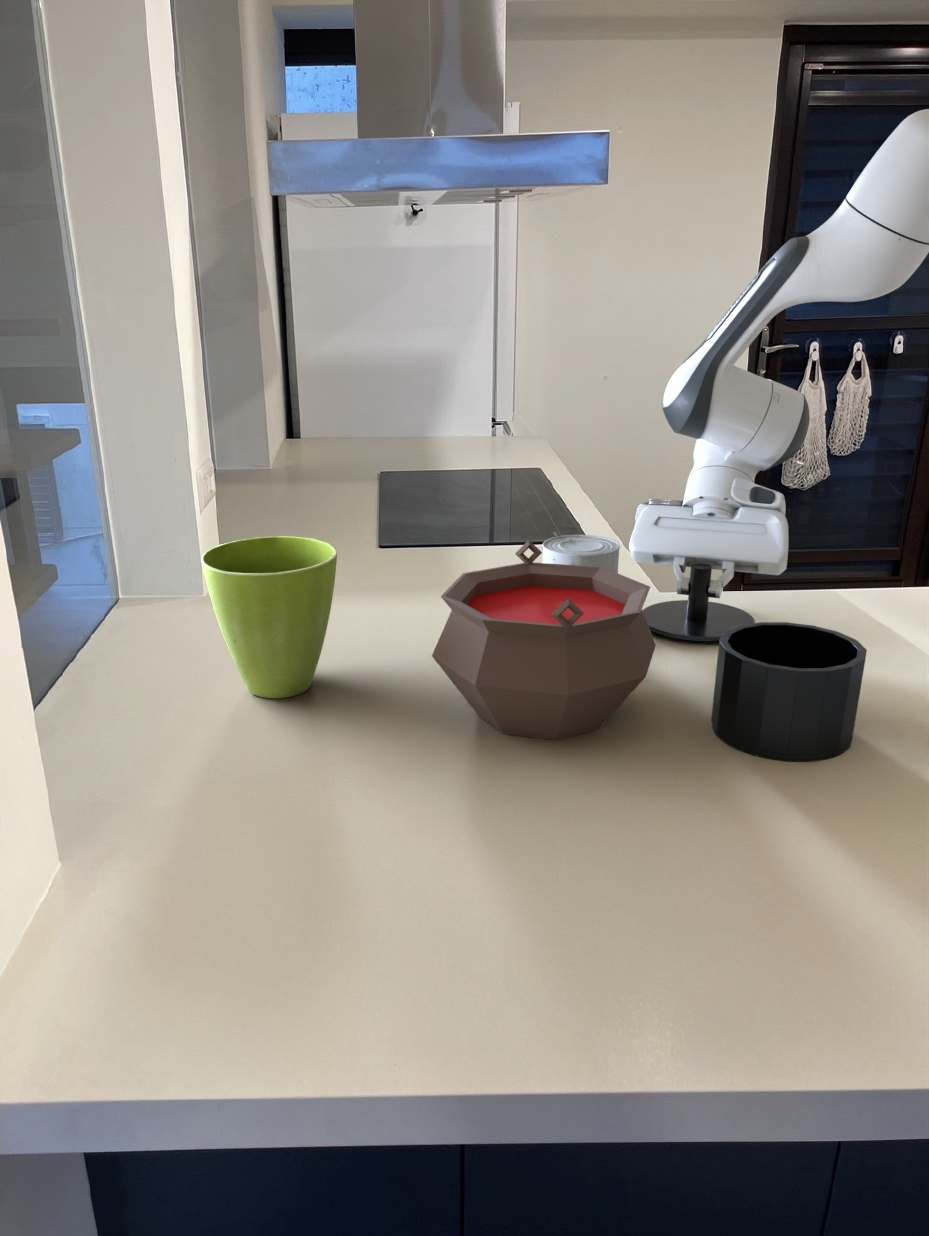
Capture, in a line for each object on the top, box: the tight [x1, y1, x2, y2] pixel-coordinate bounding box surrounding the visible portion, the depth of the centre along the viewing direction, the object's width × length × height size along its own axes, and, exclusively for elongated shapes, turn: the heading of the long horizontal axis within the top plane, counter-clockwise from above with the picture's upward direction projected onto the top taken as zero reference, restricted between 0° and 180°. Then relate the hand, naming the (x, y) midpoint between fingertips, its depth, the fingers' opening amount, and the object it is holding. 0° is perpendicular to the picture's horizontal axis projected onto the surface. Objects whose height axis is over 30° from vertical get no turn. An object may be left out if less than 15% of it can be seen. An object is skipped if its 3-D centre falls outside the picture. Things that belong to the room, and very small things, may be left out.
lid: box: [642, 563, 756, 642], centre depth 132 cm, size 15×15×8 cm
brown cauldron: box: [431, 539, 657, 741], centre depth 107 cm, size 24×24×16 cm
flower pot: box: [200, 535, 338, 699], centre depth 115 cm, size 15×15×16 cm
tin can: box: [542, 534, 621, 574], centre depth 128 cm, size 10×10×12 cm
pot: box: [710, 621, 868, 763], centre depth 102 cm, size 14×14×10 cm
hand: (698, 594), depth 131 cm, fingers closed on lid, 2 cm apart
